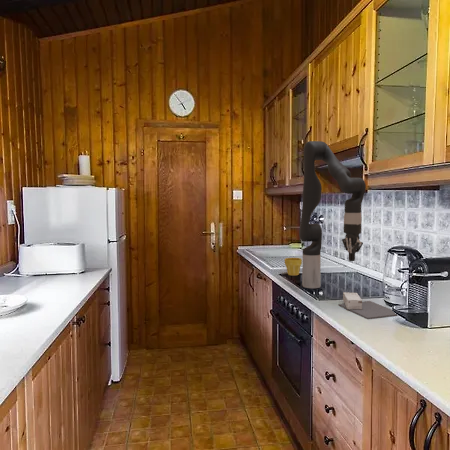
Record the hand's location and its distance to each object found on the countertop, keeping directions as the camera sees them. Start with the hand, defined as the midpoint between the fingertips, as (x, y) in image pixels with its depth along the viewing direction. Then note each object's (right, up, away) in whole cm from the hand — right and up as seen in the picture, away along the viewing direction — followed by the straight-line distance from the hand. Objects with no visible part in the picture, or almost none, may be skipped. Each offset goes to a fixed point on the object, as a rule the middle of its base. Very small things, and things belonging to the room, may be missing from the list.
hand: (351, 260), depth 171 cm
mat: (+3, -19, -13) cm, 23 cm away
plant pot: (-15, -14, +62) cm, 65 cm away
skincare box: (-1, -16, -2) cm, 16 cm away
